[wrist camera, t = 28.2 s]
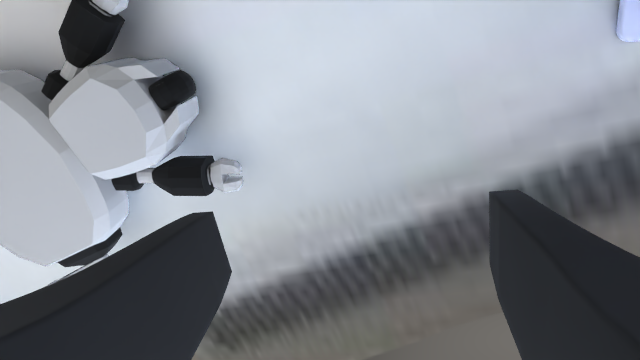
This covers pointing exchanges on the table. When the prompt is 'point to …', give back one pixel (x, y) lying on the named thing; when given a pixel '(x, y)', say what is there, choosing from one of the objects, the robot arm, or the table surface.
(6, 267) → the table surface
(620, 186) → the table surface
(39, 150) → the robot toy
